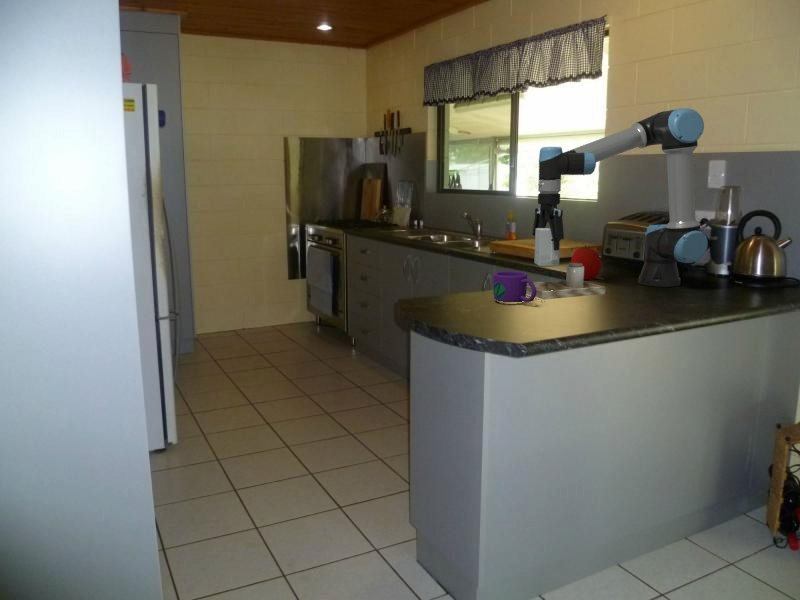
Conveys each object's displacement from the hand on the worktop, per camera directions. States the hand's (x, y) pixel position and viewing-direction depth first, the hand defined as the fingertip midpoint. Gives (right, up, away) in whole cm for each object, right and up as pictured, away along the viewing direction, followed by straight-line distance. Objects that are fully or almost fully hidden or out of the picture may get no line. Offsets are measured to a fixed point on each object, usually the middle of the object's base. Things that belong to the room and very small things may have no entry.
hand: (546, 257), depth 227 cm
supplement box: (0, -3, 0) cm, 3 cm away
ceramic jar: (+11, -12, +6) cm, 18 cm away
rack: (+6, -13, +5) cm, 15 cm away
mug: (-12, -16, -9) cm, 22 cm away
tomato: (+23, -7, +33) cm, 41 cm away
